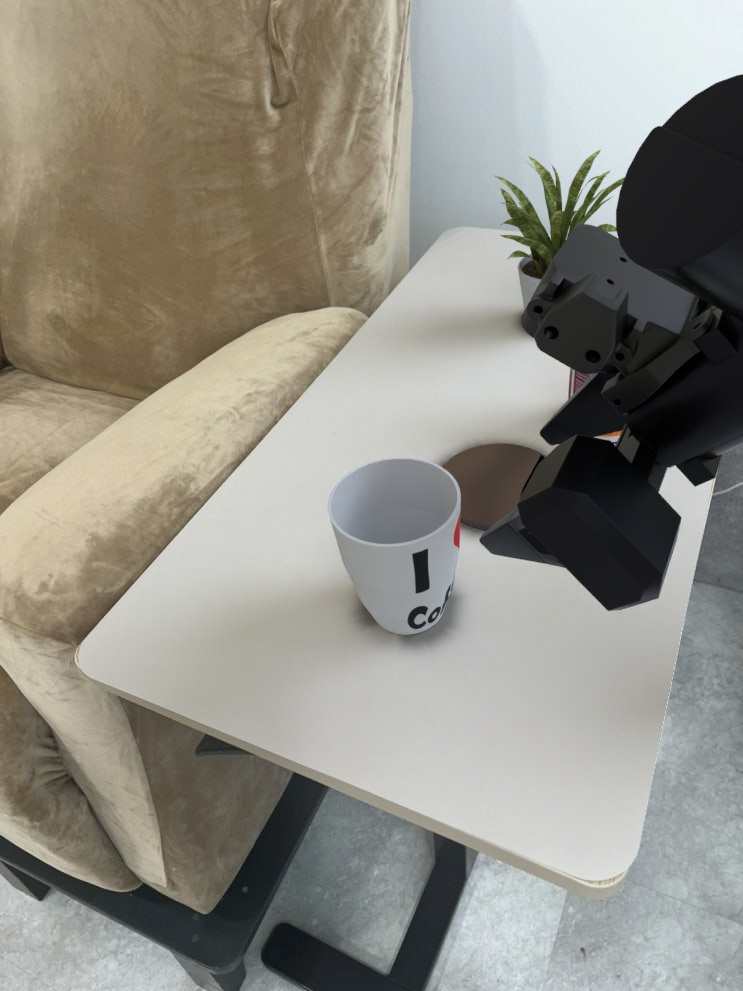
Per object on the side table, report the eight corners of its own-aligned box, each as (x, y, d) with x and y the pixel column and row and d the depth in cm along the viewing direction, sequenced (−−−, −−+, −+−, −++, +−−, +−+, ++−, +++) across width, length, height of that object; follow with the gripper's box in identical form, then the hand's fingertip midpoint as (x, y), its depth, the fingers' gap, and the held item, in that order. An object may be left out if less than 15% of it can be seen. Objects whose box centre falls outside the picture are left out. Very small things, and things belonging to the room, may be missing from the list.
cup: (422, 673, 49) (409, 566, 42) (325, 620, 53) (300, 515, 46) (488, 590, 53) (486, 482, 47) (394, 547, 57) (380, 442, 51)
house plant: (625, 283, 83) (643, 123, 73) (645, 349, 73) (670, 176, 63) (493, 290, 86) (491, 136, 75) (494, 356, 75) (493, 189, 65)
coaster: (565, 450, 64) (565, 445, 63) (560, 535, 56) (560, 530, 56) (446, 444, 66) (445, 440, 66) (426, 525, 59) (426, 520, 58)
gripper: (709, 98, 34) (480, 296, 46) (590, 295, 22) (323, 493, 34) (860, 284, 36) (602, 428, 47) (824, 557, 24) (493, 657, 36)
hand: (517, 487), depth 41 cm, fingers open, 9 cm apart
